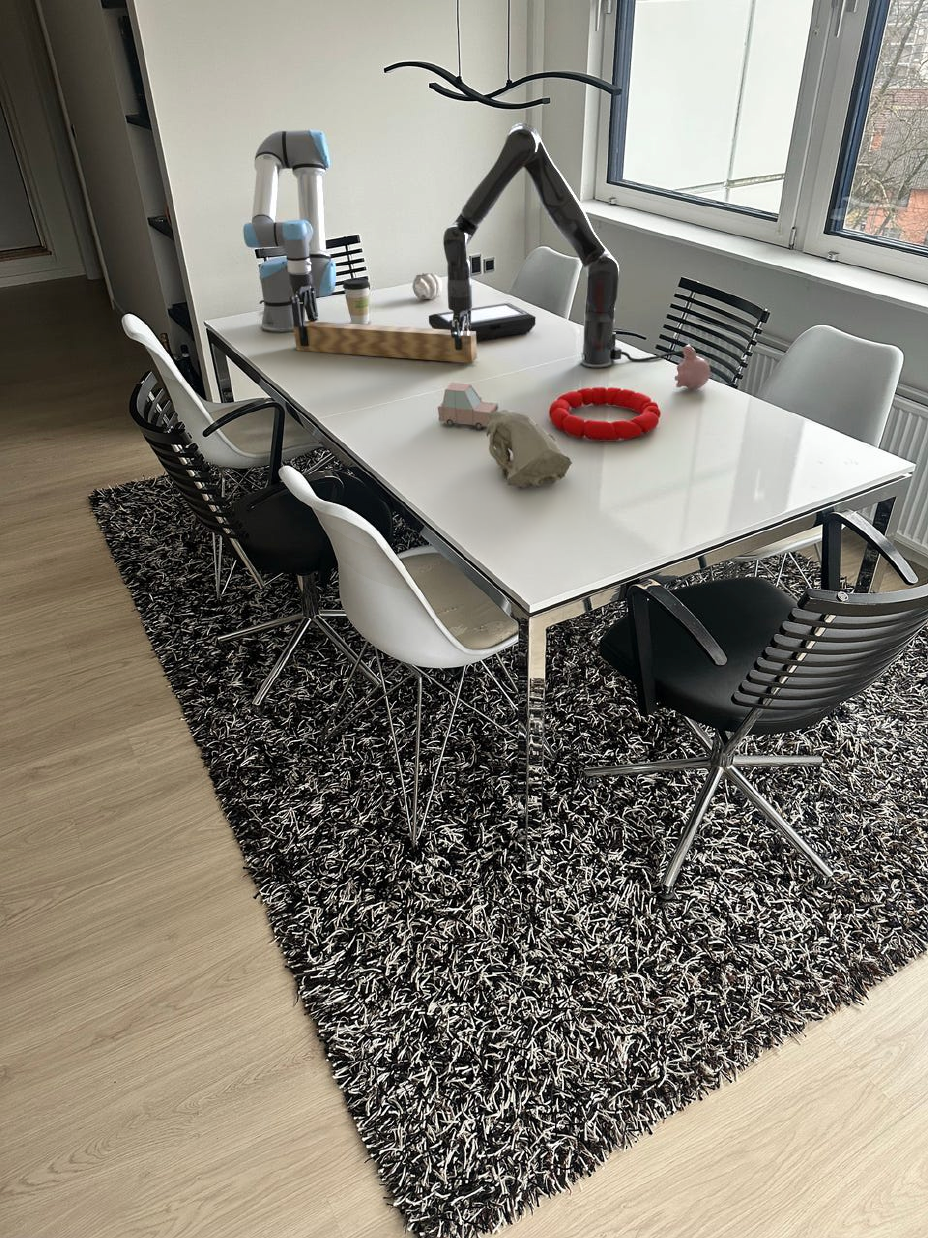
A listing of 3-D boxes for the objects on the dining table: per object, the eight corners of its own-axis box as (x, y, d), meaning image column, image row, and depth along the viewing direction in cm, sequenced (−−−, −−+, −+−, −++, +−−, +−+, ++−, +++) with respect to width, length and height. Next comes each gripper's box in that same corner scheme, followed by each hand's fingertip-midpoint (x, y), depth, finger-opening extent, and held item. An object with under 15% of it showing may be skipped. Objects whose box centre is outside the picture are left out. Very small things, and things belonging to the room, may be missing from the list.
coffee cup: (372, 326, 323) (368, 283, 314) (345, 327, 323) (340, 284, 315) (374, 318, 331) (371, 276, 322) (348, 319, 331) (344, 277, 323)
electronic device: (451, 328, 298) (428, 313, 313) (451, 346, 301) (429, 331, 316) (535, 314, 308) (509, 300, 323) (535, 332, 311) (509, 318, 326)
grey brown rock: (496, 517, 219) (521, 479, 201) (463, 429, 225) (484, 384, 207) (557, 503, 225) (586, 465, 206) (523, 417, 231) (549, 373, 212)
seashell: (406, 298, 352) (404, 272, 346) (439, 293, 358) (438, 267, 352) (417, 304, 345) (416, 278, 339) (451, 298, 350) (450, 272, 345)
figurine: (665, 387, 264) (669, 347, 257) (693, 380, 268) (698, 340, 261) (686, 396, 257) (690, 355, 250) (714, 388, 262) (720, 348, 255)
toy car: (488, 432, 240) (488, 396, 234) (436, 426, 244) (434, 390, 239) (499, 419, 247) (499, 384, 241) (448, 413, 252) (447, 379, 246)
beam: (296, 350, 304) (292, 324, 299) (303, 345, 308) (300, 320, 303) (471, 362, 285) (470, 335, 280) (477, 357, 288) (475, 331, 284)
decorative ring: (589, 435, 224) (684, 402, 234) (527, 398, 247) (617, 369, 256) (589, 461, 229) (683, 427, 238) (529, 422, 251) (617, 393, 260)
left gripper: (296, 279, 282) (306, 352, 295) (323, 265, 296) (331, 335, 310) (275, 278, 284) (286, 350, 298) (303, 264, 299) (312, 334, 312)
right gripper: (463, 299, 269) (465, 355, 279) (478, 287, 280) (480, 341, 290) (440, 298, 272) (442, 353, 281) (456, 286, 283) (458, 339, 292)
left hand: (309, 342), depth 304 cm, fingers open, 5 cm apart
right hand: (461, 346), depth 286 cm, fingers closed on beam, 5 cm apart
